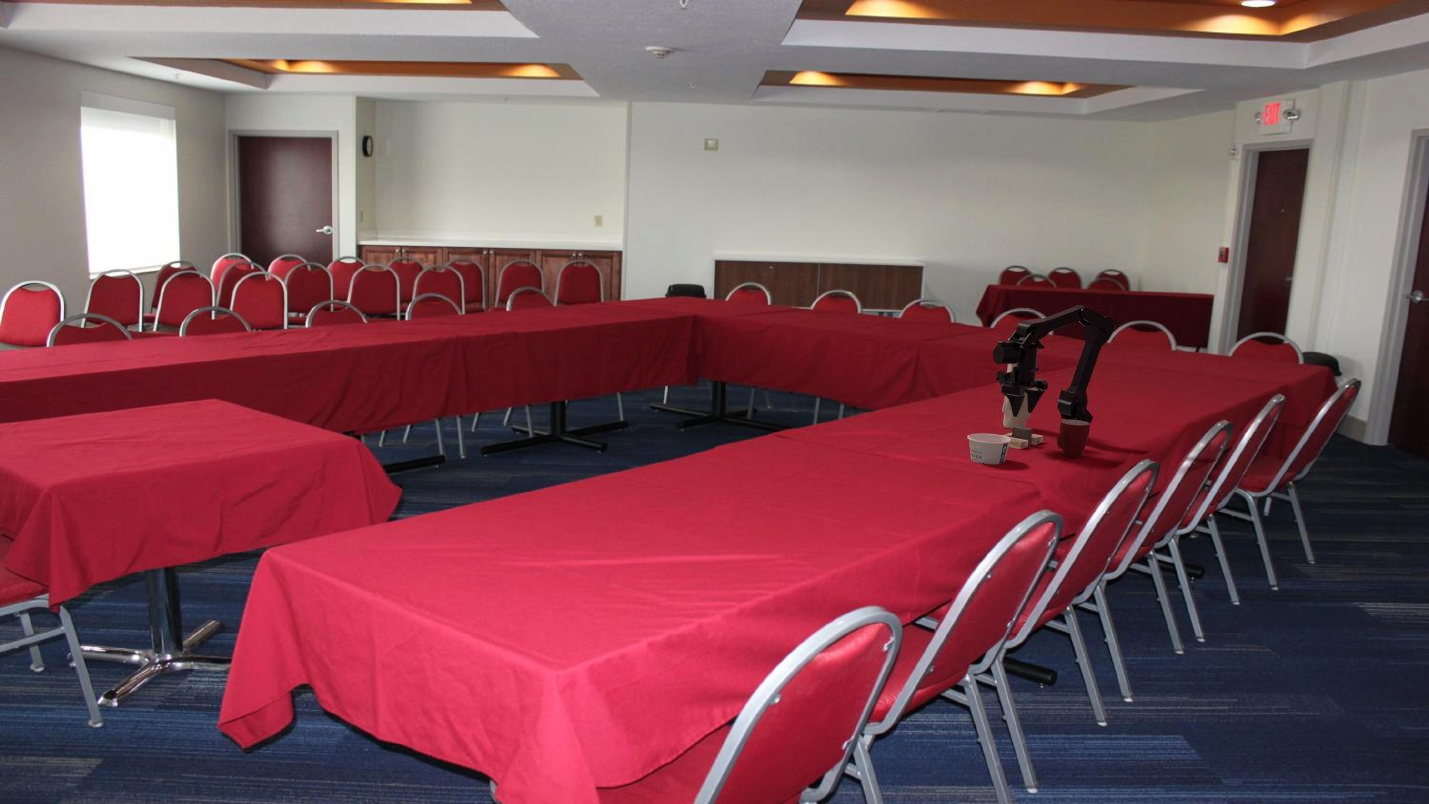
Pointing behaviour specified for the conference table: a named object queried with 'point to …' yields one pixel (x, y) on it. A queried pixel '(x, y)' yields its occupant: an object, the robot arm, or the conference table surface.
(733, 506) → the conference table surface
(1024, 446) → the notch board
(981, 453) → the food container
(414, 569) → the conference table surface
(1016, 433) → the grey block
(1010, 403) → the robot arm
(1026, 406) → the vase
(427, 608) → the conference table surface
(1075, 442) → the mug
